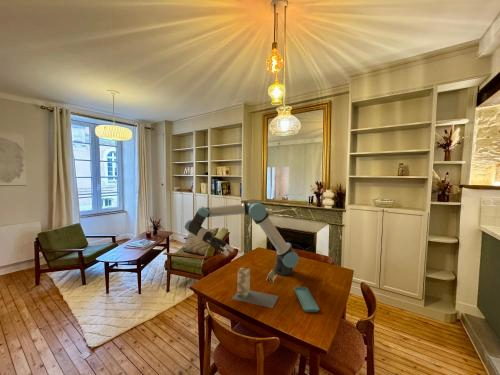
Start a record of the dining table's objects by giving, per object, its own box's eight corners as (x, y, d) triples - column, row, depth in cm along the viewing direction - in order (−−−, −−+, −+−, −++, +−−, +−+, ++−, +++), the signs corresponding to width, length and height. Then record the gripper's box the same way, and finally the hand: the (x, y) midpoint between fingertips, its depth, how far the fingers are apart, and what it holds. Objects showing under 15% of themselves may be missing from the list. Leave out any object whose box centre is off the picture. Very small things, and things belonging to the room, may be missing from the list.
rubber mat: (231, 299, 136) (231, 298, 136) (240, 288, 149) (240, 288, 149) (272, 308, 127) (272, 308, 127) (278, 296, 140) (278, 296, 140)
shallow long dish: (293, 290, 150) (293, 286, 149) (306, 290, 150) (306, 286, 150) (303, 313, 123) (303, 309, 123) (319, 313, 124) (319, 309, 124)
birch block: (237, 296, 139) (237, 271, 139) (241, 291, 145) (241, 267, 144) (246, 298, 137) (246, 272, 136) (249, 293, 143) (250, 268, 142)
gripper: (208, 238, 165) (232, 253, 160) (194, 242, 141) (222, 260, 136) (213, 229, 165) (237, 244, 161) (200, 231, 141) (228, 249, 136)
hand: (231, 252), depth 148 cm, fingers open, 13 cm apart
